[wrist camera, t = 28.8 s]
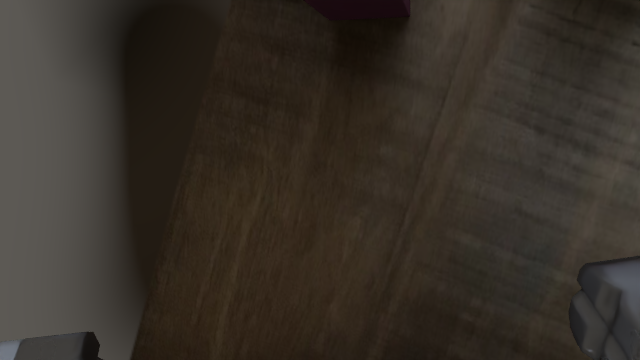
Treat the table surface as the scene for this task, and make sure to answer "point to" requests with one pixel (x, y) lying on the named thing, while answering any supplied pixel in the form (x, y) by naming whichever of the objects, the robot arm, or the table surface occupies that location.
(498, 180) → the table surface
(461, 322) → the table surface
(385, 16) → the plum boxes
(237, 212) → the table surface
